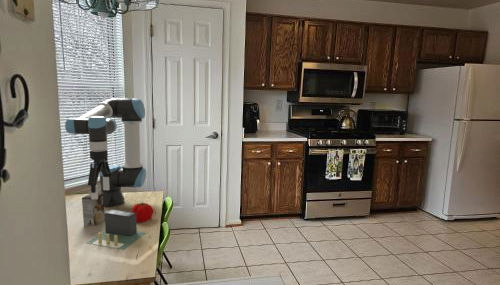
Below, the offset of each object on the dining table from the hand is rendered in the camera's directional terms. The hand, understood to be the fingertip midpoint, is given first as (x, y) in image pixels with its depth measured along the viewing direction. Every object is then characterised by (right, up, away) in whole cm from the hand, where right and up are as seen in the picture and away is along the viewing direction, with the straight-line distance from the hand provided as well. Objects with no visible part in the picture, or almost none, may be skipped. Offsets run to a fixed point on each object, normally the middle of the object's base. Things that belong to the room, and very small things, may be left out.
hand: (100, 194), depth 156 cm
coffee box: (-11, -19, +18) cm, 28 cm away
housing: (+7, -20, +6) cm, 22 cm away
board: (+8, -22, 0) cm, 23 cm away
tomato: (+12, -18, +24) cm, 32 cm away
